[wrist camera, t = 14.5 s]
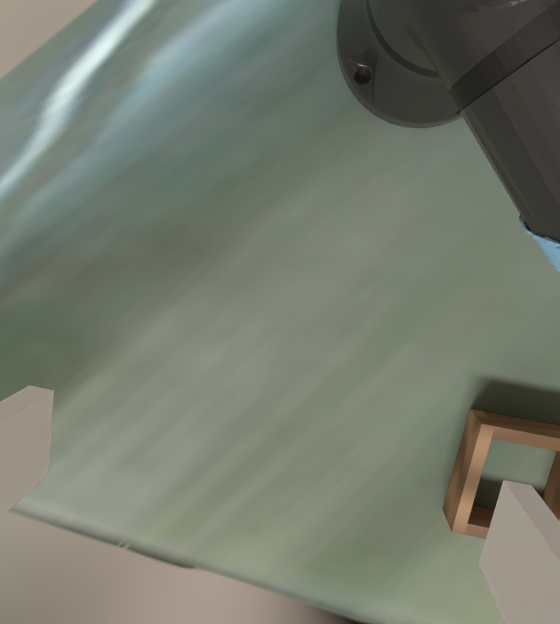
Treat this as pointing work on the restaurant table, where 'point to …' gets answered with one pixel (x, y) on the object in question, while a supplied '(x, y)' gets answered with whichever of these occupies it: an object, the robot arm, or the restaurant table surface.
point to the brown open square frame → (471, 464)
